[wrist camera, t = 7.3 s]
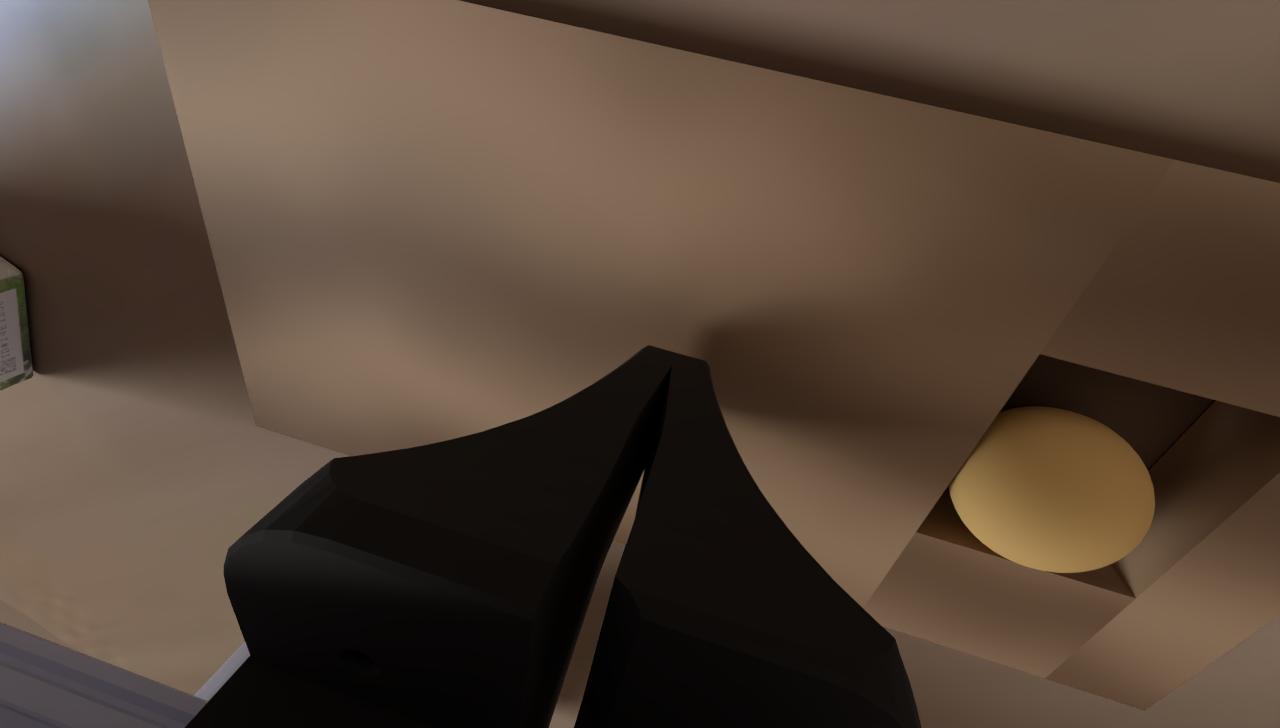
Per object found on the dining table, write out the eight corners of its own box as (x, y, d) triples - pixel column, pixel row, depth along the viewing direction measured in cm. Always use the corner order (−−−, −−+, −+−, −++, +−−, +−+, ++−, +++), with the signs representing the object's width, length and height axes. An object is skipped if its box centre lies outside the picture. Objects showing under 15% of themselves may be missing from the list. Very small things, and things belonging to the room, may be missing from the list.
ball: (909, 536, 13) (959, 434, 14) (1080, 628, 11) (1118, 500, 12) (946, 469, 10) (1004, 351, 11) (1180, 576, 8) (1213, 420, 10)
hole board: (1101, 638, 15) (1144, 710, 13) (306, 391, 17) (255, 425, 16) (1555, 246, 9) (1745, 286, 7) (226, -50, 11) (129, -73, 10)
